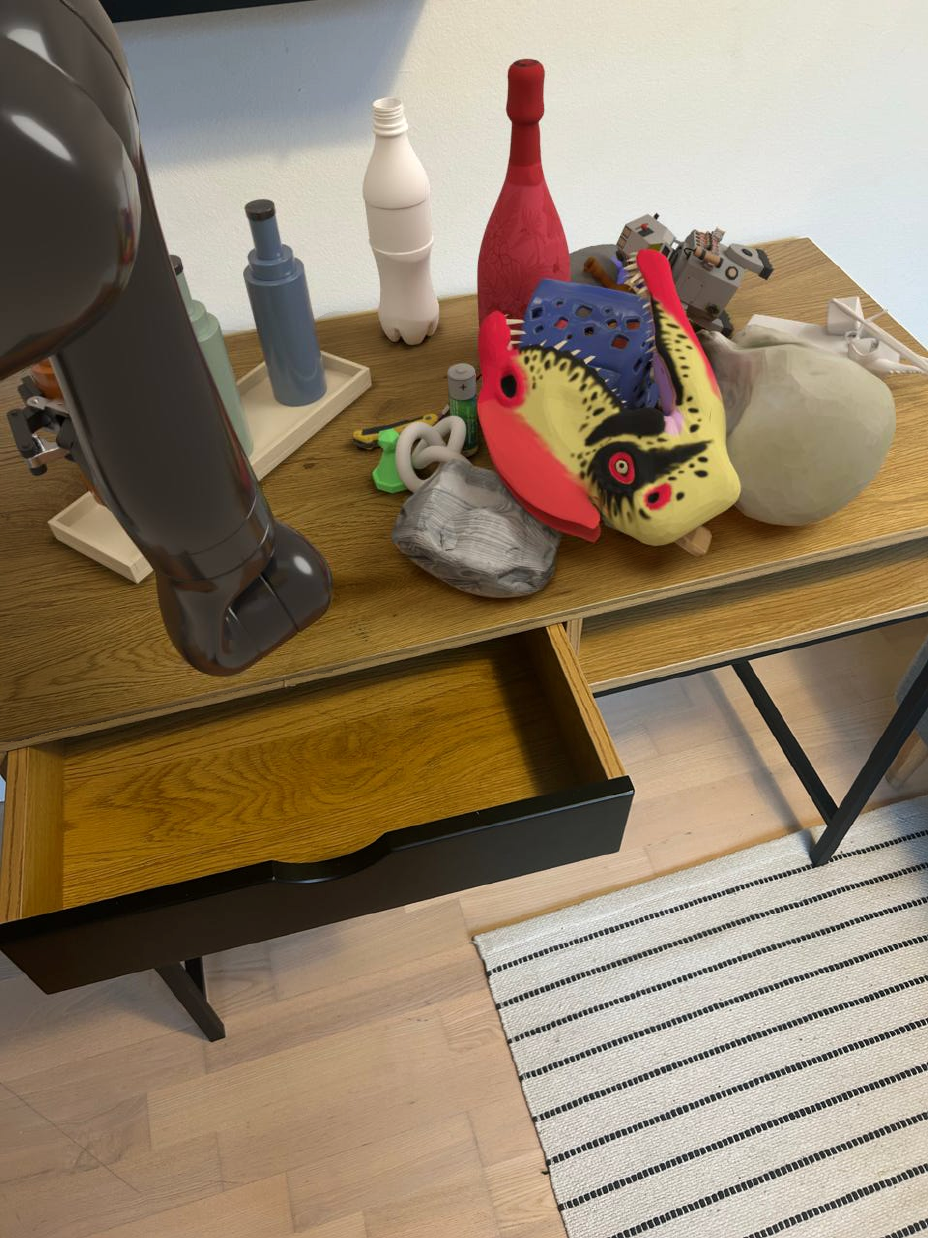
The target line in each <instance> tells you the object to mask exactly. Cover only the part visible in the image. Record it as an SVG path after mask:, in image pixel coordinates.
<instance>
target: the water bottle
mask: <svg viewBox="0 0 928 1238" xmlns="http://www.w3.org/2000/svg"><path fill="white" fill-rule="evenodd" d="M372 110H373V111H372V113H373V122H372V124H373V126H372V132H373V133H374V134H375V140H374V146H373V150H372V153H371V156H370V159H369V161H368V164H367V166H366V170H365V173H364V177H363V181H362V182H363V183H362V198H363V201H364V207H365V214H366V215H365V216H366V222H367V231H368V237H369V238H368V243H369V245H370V248H371V250H372V254H373V257H374V260H375V263H376V267H377V272H378V278H379V303H378V308H377V315H378V321H379V323H380V327H381V329H382V331H383V332H384V334H385V335H386V337H387V338H388V339H389V340H390V341H391V342H395V343H397V342H399V340H400V339H401V338H402V339H403V341H404V343H405V344H407V345H409V346H415V345H419V344H421V343H422V342H423V341H424V340H425V337H426V336H428V337H431V336H433V335H434V334H435V332H436V330H437V328H438V324H439V320H440V303H439V301H438V299H437V295H436V292H435V289H434V284H433V281H432V280H433V279H432V273H431V253H432V249H433V245H434V241H435V236H434V233H433V232H434V231H433V219H432V205H431V203H432V202H431V192H432V189H431V188H432V187H431V184H430V179H429V176H428V174H427V171H426V169H425V168H424V166H423V164H422V162H421V161H420V159H419V158H418V156H417V154H416V153H415V151H414V149H413V147H412V146H411V143H410V141H409V138H408V135H407V134H408V133H407V131H408V129H409V125H408V123H407V118H406V117H405V106H404V102H403V100H402V99H400V98H398V97H383V98H379V99H377V100H375V101H374V102H372Z"/></svg>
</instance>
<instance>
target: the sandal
mask: <svg viewBox="0 0 928 1238" xmlns="http://www.w3.org/2000/svg"><path fill="white" fill-rule="evenodd" d="M597 510H598V512H599V514H600V518H601V519H602V520H603V522H604V524H605V526H607V527H609V528H611V529H613V530H616V531H619V532H621V533H623V532H622V531H620V530H618V529H617V528H616V527H615V526H614V525H612V524H611V523H610V522H609V521H608V519H607V518H606V517H605V516H604V514H603V513H602V512H601V511H600V510H599V509H598V508H597ZM711 533H712V532H711V530H709V529H708V528H706V527H705V526H704V525H703V524H702V525H700V526H698V527H697V528H695V529H694V530H692V531H691V532H689V533H687V534H686V535H684V536H683V537H681V538H679V539H677V540H675V541H674V542H673V543H675V544H676V545H677V546H678V547H680V548H681V549H683V550H685V551H686V552H687V553H689V554H691V555H692V556H694V557H697V558H700V557H701V556H702V557H705V556H706V554H707V553H708V550H709V548H710V544H711V541H712V537H713V535H712V534H711Z"/></svg>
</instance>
